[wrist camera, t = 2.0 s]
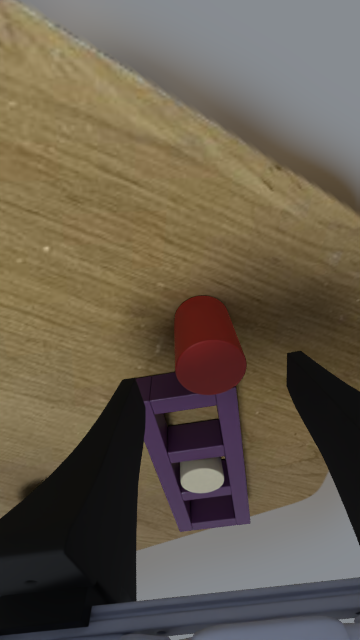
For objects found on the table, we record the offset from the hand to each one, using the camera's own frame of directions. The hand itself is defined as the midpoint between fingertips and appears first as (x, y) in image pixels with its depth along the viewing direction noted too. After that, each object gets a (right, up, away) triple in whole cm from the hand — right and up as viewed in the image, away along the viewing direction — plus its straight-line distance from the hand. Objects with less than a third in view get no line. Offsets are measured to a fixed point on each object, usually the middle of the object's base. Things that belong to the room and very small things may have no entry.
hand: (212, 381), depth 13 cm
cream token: (0, -9, +12) cm, 15 cm away
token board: (0, -9, +12) cm, 15 cm away
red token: (0, +3, +5) cm, 6 cm away
